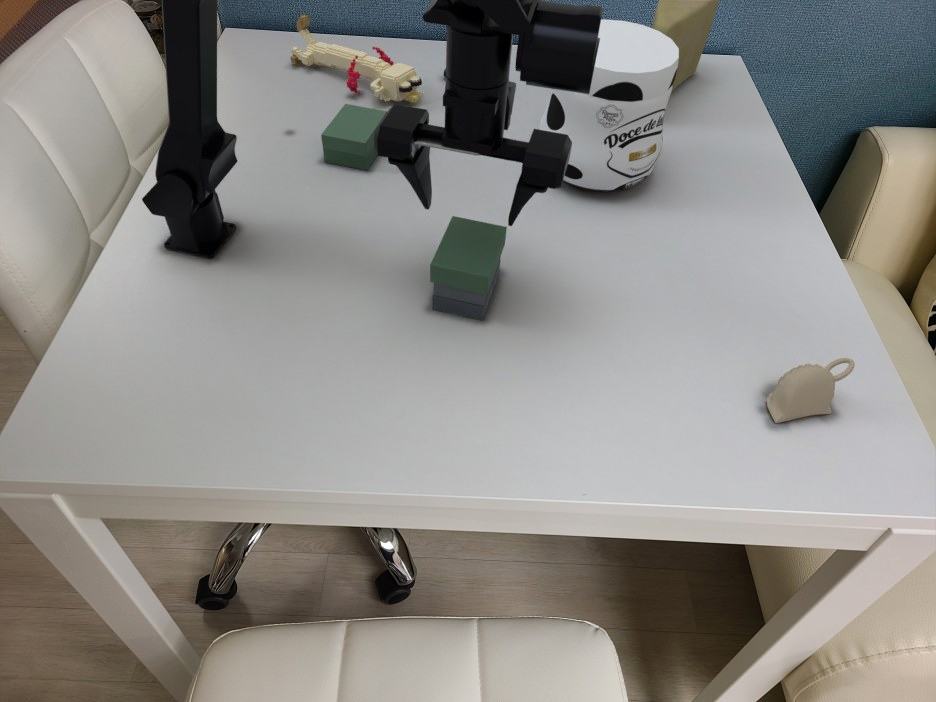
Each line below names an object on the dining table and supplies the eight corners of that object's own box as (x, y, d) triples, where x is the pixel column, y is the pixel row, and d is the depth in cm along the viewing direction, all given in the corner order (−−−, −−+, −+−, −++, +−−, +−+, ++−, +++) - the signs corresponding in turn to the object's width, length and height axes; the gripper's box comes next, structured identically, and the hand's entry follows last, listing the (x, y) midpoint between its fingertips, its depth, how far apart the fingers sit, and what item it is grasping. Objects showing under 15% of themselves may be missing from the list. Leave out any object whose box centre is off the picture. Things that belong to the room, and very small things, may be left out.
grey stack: (482, 320, 77) (485, 293, 73) (432, 309, 77) (432, 281, 74) (499, 272, 82) (502, 245, 79) (452, 262, 83) (453, 234, 80)
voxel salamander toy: (284, 77, 114) (400, 114, 104) (273, 23, 108) (394, 57, 98) (324, 57, 120) (438, 90, 109) (315, 4, 113) (435, 34, 103)
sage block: (486, 294, 73) (488, 277, 71) (429, 282, 74) (429, 264, 72) (504, 244, 79) (506, 226, 77) (451, 233, 80) (452, 215, 78)
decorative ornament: (754, 393, 72) (774, 360, 68) (824, 383, 73) (847, 350, 69) (773, 423, 69) (794, 391, 65) (845, 412, 70) (870, 380, 66)
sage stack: (367, 170, 95) (365, 143, 92) (324, 162, 96) (320, 134, 93) (388, 138, 101) (387, 111, 98) (347, 130, 102) (345, 103, 98)
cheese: (665, 130, 106) (693, 34, 95) (606, 113, 109) (628, 18, 98) (697, 73, 120) (725, -17, 109) (644, 60, 122) (666, -29, 111)
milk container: (642, 215, 91) (680, 89, 78) (520, 186, 94) (536, 60, 81) (660, 150, 102) (696, 30, 89) (550, 126, 106) (569, 6, 92)
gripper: (592, 52, 64) (566, 189, 76) (406, 22, 67) (409, 159, 79) (574, 108, 57) (549, 250, 69) (367, 72, 60) (377, 215, 71)
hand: (469, 215), depth 72 cm, fingers open, 9 cm apart
